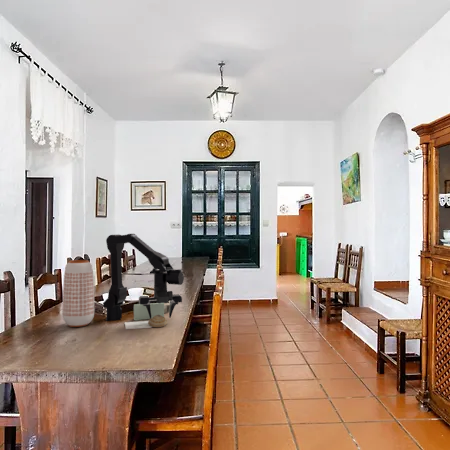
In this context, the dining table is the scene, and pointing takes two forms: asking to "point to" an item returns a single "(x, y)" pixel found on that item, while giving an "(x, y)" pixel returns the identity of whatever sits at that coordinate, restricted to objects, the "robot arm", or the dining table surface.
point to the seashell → (157, 321)
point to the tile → (137, 325)
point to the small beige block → (166, 307)
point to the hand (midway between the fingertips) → (160, 318)
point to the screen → (142, 312)
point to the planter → (78, 293)
